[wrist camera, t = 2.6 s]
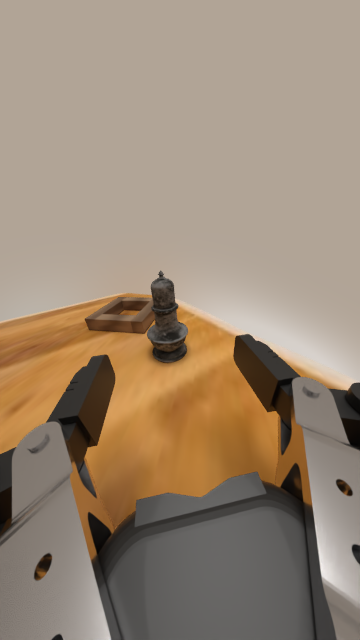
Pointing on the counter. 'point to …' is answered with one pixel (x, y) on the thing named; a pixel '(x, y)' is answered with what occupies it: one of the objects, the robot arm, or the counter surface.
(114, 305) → the socket block
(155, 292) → the chess piece
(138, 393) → the counter surface
